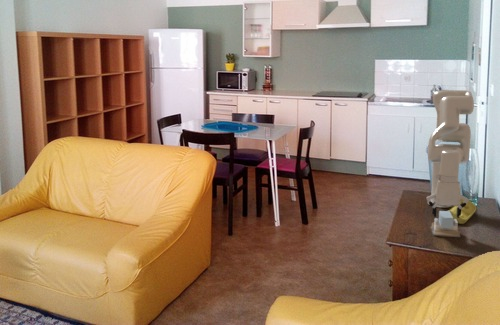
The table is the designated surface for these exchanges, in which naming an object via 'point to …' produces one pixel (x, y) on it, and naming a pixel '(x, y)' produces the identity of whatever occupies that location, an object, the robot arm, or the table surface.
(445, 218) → the light blue rectangular block
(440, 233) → the assembly jig
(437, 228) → the white i-beam block
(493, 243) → the table surface
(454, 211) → the plastic component
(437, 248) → the table surface
